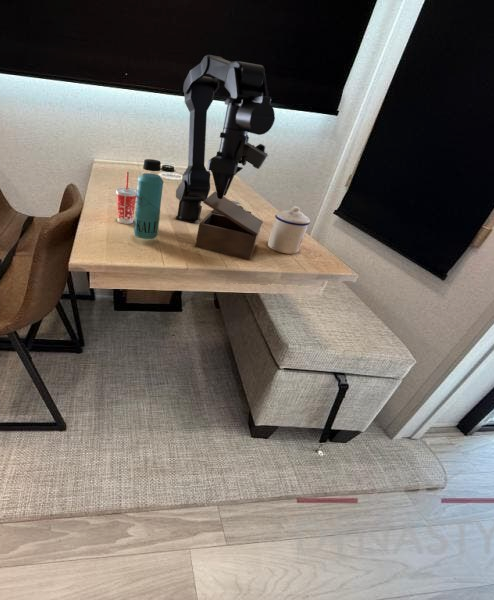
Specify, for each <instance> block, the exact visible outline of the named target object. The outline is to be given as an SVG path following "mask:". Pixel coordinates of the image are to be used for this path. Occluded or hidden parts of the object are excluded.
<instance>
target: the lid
mask: <svg viewBox="0 0 494 600" xmlns="http://www.w3.org/2000/svg"><path fill="white" fill-rule="evenodd" d="M232 201H233V200H230V199H229V198H227V197H226V196H223V198H222V199H219V198H218V197H217V192H216V190H215V191H213V192H212V193H211V194H210V195H208V197H207V199H205V200H204V202H202V203H203V204H204V205H206V206H208V207H209V208H211V209H212V210H213V209H214V210H216V211H217V212H219V213H220V214H222V215H223V216H225V217H227V218H228V219H230V220H231V221H233V222H234V223H236V224H238V225H239V226H241V227H242V228H244V229H245V230H247V231H249V232H250V233H252V234H253V235H255V236H256V235H257V234H258V232H259V229H260V230H261V228H260V227H262V225H263V220H262V219H260V218H259V217H257V216H256V215H254V214H252V212H251V213H249V212H250V211H249V212H247V211H248V210H246V209H244V207H243V208H241V207H240V206H241V205H239V206H238V205H236V204H235V203H233V202H232ZM259 233H260V232H259Z"/></svg>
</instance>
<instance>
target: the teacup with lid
mask: <svg viewBox="0 0 494 600" xmlns="http://www.w3.org/2000/svg"><path fill="white" fill-rule="evenodd" d="M300 210H301V209H300V207H299V206H295V205H294V206H292V207H291V209H286V210H282V211H281V210H280V211H278V212H276V214H275V215H274V221H273V225H272V228H271V231H270V235H269V238H268V241H267V245H268V247H269V248H270V249H271V250H273V251H276V252H278V253H282V254H289V255H291V254H292V255H293V254H294V255H295V254H297V253H299V251H300V248H301V246H302V243H303V240H304V237H305V235H306V232H307V229H308V226H309V225H310V223H311V220H310V218H309V217H308V216H306V215H305V214H304V213H303V212H301V211H300Z"/></svg>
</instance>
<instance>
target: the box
mask: <svg viewBox="0 0 494 600" xmlns="http://www.w3.org/2000/svg"><path fill="white" fill-rule="evenodd" d="M261 227H262V226H261ZM261 227H260V229H259V232H258V234H257V235H256V236H255V235H253V234H252V233H250V232H249V231H247V230H245V229H244V228H242V227H241V226H239V225H238V224H236V223H234V222H233V221H231V220H230V219H228V218H227V217H225V216H223V215H220V214H215V213H211V212H209V213H208V214H207V215H206V216H205V217H204V218H203V219H202V220H201V221H200V222H199V224H198V229H197V234H196V235H197V236H196V239H195V240H196V241H195V247H196V248H201V249H205V250H209V251H212V252H217V253H220V254H224V255H228V256H232V257H237V258H241V259H245V260H249V261H250V260H251V258H252V256H253V253H254V250H255V248H256V246H257V242H258V239H259V235H260V232H261Z"/></svg>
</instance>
